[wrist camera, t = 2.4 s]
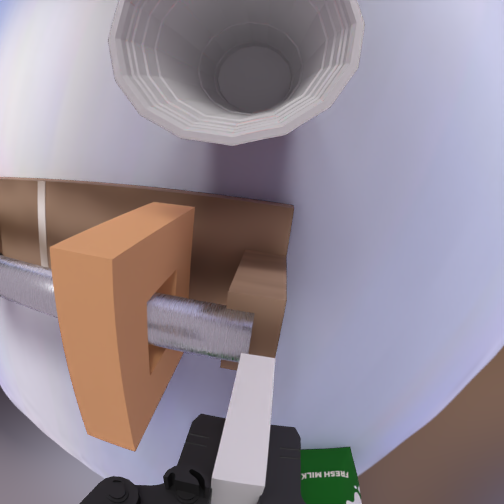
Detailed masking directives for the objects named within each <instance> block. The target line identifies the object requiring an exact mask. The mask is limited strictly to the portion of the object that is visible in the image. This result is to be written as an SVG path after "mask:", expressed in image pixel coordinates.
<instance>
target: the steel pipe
mask: <svg viewBox="0 0 504 504" xmlns="http://www.w3.org/2000/svg"><path fill="white" fill-rule="evenodd" d="M0 297H2V298H5V299H7V300H10V301H13V302H15V303H18V304H20V305H23V306H26V307H28V308H31V309H34V310H37V311H39V312H42V313H45V314H48V315H51V316H54V317H57V318H58V315H57V309H56V302H55V295H54V287H53V279H52V269H51V268H47V267H43V266H39V265H35V264H31V263H28V262H24V261H20V260H17V259H13V258H9V257H6V256H4V255H3V254H2V253H1V252H0ZM226 307H227V305H222V304H216V303H210V302H205V301H199V300H194V299H188V298H183V297H178V296H172V295H167V294H162V293H157V292H155V294H154V295H153V296H152V297H151V298H150V299H149V300H148V301H147V327H148V344H150V345H155V346H159V347H163V348H167V349H172V350H176V351H181V352H185V353H190V354H195V355H200V356H205V357H210V358H215V359H221V360H226V361H232V362H238V363H239V360H240V356H241V353H244V354H249V347H250V341H251V334H252V328H253V321H254V315H255V313H250V312H244V311H237V310H232V309H226Z"/></svg>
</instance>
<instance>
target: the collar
mask: <svg viewBox="0 0 504 504" xmlns="http://www.w3.org/2000/svg"><path fill="white" fill-rule="evenodd" d="M194 214H195V207H191V206H183V205H175V204H167V203H159V202H152V203H149V204H147V205H144V206H142V207H139V208H137V209H135V210H132V211H130V212H127V213H125V214H122V215H120V216H118V217H115V218H113V219H110V220H108V221H106V222H103V223H101V224H99V225H97V226H94V227H92V228H90V229H87V230H85V231H83V232H81V233H79V234H76V235H74V236H72V237H70V238H68V239H65V240H63V241H61V242H59V243H57V244H55V245H53V246H51V247H50V259H51V269H52V279H53V287H54V295H55V302H56V309H57V315H58V321H59V327H60V332H61V337H62V342H63V347H64V352H65V356H66V361H67V365H68V369H69V373H70V377H71V381H72V385H73V389H74V392H75V396H76V399H77V403H78V406H79V409H80V412H81V416H82V419H83V422H84V425H85V428H86V431H87V434H88V435H91V436H93V437H96V438H98V439H101V440H103V441H106V442H109V443H111V444H114V445H117V446H120V447H123V448H126V449H129V450H132V451H136V449H137V447H138V445H139V443H140V441H141V439H142V437H143V435H144V432H145V430H146V428H147V426H148V424H149V422H150V420H151V418H152V416H153V414H154V412H155V410H156V408H157V406H158V404H159V402H160V400H161V397H162V395H163V393H164V391H165V389H166V387H167V385H168V383H169V381H170V379H171V377H172V375H173V373H174V371H175V369H176V367H177V365H178V363H179V361H180V359H181V357H182V355H183V353H184V352H181V351H176V350H172V349H167V348H163V347H159V346H155V345H150V344H148V327H147V301H148V300H149V299H150V298H151V297H152V296H153V295H154V294H155V292H157V293H162V294H167V295H172V296H178V297H183V298H188V299H189V283H190V266H191V251H192V238H193V225H194Z"/></svg>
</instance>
